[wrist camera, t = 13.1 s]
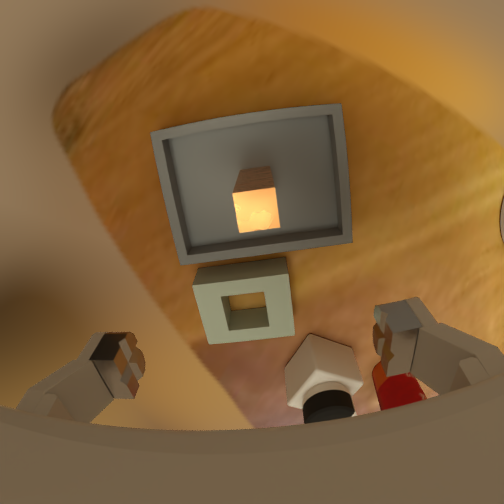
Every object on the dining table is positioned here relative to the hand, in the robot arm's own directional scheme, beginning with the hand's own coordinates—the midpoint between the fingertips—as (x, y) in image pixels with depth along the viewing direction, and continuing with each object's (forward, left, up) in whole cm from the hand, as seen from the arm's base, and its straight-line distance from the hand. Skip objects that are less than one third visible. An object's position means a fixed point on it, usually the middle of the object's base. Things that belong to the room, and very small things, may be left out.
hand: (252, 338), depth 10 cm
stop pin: (0, 0, -24) cm, 24 cm away
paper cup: (-16, +30, -25) cm, 42 cm away
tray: (0, 0, -25) cm, 25 cm away
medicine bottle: (-5, +25, -25) cm, 36 cm away
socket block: (+3, +13, -25) cm, 28 cm away
